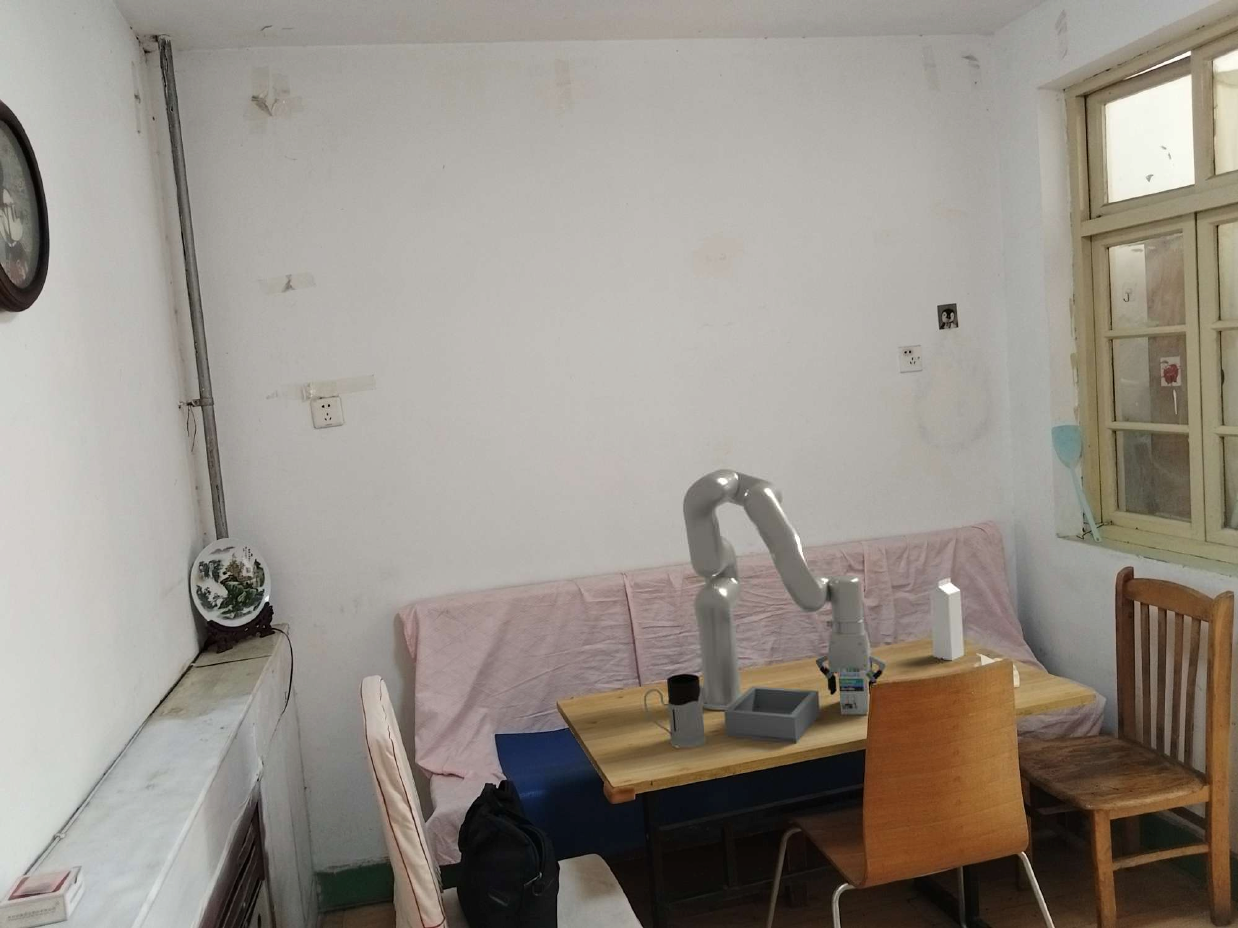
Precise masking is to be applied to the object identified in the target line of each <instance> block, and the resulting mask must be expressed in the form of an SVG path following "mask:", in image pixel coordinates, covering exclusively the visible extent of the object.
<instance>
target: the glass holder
mask: <svg viewBox="0 0 1238 928" xmlns="http://www.w3.org/2000/svg"><path fill="white" fill-rule="evenodd" d="M666 683H667V684H666V686H667V697H668V700H667V702H668V703H664V697H663V693H662V692H660V690H659V689H656V688H655V689H654V688H652V689H649V690H647V692H645V695H644V698H643V703H644V704H643V705H644V709H645V712H646V714H647V716H648V718H649V719H650V721H652V722H653V723H654V724H655V725H657V726H658V727H660V728H661V729H662V730H665V731H666V732H668V734H669V736H670V739H669V744H670V743H671V744H672V745H674V746H678V747H680V748H679V749H693V747H695V748H698V747H697V746H699V747H701V746H704V745H705V744H706V743H707V742H708V739H707V737H706V734H705V725H704V712H703V711H704V710H703V707H702V698H701V688H700V685H701V684H700V677H699V676H698V675H696V674H693V673H692V674H691V673H680V674H674V675H671V676H669V677H668V678H667V679H666ZM652 692H657V693H658V694H659V696H660V701H661V704H662V705H663V706H664V707H665V706H666V707H667V706H668V717H669V726H670V727H669V729H670V730H669V729H667V728H666V727H665V726H663V725H661V724H659V723H658V722H657V721H656V720H654V718H653V717H652V715H651V714H650V712H649V709H648V706H647V697H648V695H649V694H650V693H652ZM706 741H707V742H706ZM704 743H705V744H704ZM672 745H671V746H672ZM674 746H673V747H674Z"/></svg>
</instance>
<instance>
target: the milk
mask: <svg viewBox="0 0 1238 928" xmlns="http://www.w3.org/2000/svg"><path fill="white" fill-rule="evenodd" d="M961 595H962V594H961V589H959V588H958V587H957V586H955V585H954V584H953V583H952V582H951V577H948V578H945V579H941V580H939V581H938V582H937V587H935V588H934V589H932V590H931V591H929V601H930V602H929V603H930V616H931V617H930V619H931V630H932V631H931V635H932V637H931V638H932V649H933V650H932V651H933V653H932V654H933V658H935V657H937V658H936V659H941V658H943V659H942V660H948V661H951V660H952V661H955V660H957V659H960V658H962V657H964V656H965V652H964V651H965V650H964V649H965V648H964V637H963V636H964V633H963V616H962V615H963V613H962V599H961V597H962V596H961ZM963 655H964V656H963Z"/></svg>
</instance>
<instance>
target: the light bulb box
mask: <svg viewBox="0 0 1238 928" xmlns="http://www.w3.org/2000/svg"><path fill="white" fill-rule="evenodd" d="M837 676H838V677H837V678H838V688H839V702H840V715H841V716H842V715H843V716H844V715H868V714H867V712H868V711H869V697H868V696H869V691H868V682H867V676H866V672H865V670H857V669H844V668H839V669H838V673H837Z"/></svg>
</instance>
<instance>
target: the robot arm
mask: <svg viewBox="0 0 1238 928" xmlns="http://www.w3.org/2000/svg"><path fill="white" fill-rule="evenodd" d="M782 501H783V495H782V491H781V490H780V489H779V487H778V486H777V485H776V484H775V483H773V482H771V481H768V480H766V479H762V478H758V477H756V476H752V475H748V474H745V473H742V472H739V471H736V470H732V469H727V468H722V469H718V470H715V471H712V472H710V473H707V474H705V475H703V476H702V477H700V478H699V479H697V480H696V481H695V482H694V483H692V485H690V486H689V488H688V489H687V491H686V493H685V495H684V498H683V502H682V511H683V518H684V519H683V520H684V524H685V531H686V539H687V544H688V549H689V550H688V551H689V556H690V563H691V567H692V569H693V571H694V573H695V574H696V575H697V576H698V577H701V578H704V581H705V584H704V585H702V586H701V587H700V588H699V590H698V591H697V593H696V595H695V599H694V613H695V618H696V621H697V623H696V624H697V628H698V639H699V640H698V641H699V647H700V649H699V650H700V659H701V661H700V662H701V674H702V684H700V688H701V698H702V709H706V710H712V711H713V710H714V711H725V710H726V709H728V708H729V707H730V706H731V705H732V704H733V703H734V702H735V701H736V700H737V699H739V698H740V697H741V696H742V695H743V694H744V693H745V692H742V691H741V677H740V666H739V665H740V664H739V653H738V651H739V650H738V642H737V640H738V639H737V630H736V624H735V620H734V614H733V612H734V611H733V610H734V609H735V608H736V607H738V605H739V603H740V601H741V598H742V585H741V578H740V577H741V576H740V572H739V565H738V561H737V555H736V550H735V548H734V546H733V544H732V542H730V541H729V539H728V538H726V537H724V536H722V535H721V531H720V530H721V529H720V523H719V519H718V516H717V514H716V512H717V511H716V510H717V508H718V507H720V506H721V505H724V504H726V503H730V504H734V505H737V506H740V507H742V508H743V510H744V511H745V514H746V516H747V517H748V519H749V520H750V521H751V524H752V525H753V527H754V528H755V530H756V532H757V533H758V534H759V535H758V536H760V538H761V539H762V541H763V543H764V544H765V546H766V548H767V549H768V552H769V553H770V557H771V559H772V562H773V564H774V566H775V569H776V571H777V574H778V576H779V578H780V581H781V583H782V584H783V586H784V587H785V589H786V591H787V593H788V594H789V596H790V597H791V599H792V600H793V602H794V604H796V605H797V607H798V608H799V609H801V610H802V611H805V612H807V613H815V612H817V611H818V612H819V610H821V609H822V608H823V607H824V605H826V604H827V603H829V604H830V608H831V610H830V611H831V620H827V621H826V627H830V629H831V631H829V634H828V643H827V645H828V646H827V654H824V655H822V656H820V657H817V659H815V663H816V665H817V667H818V668H819V671H820V672H821V673H822V674H823V675H824V677H825V678H826V679H827V689H828V691H829V694H830V695H833V696H834V694H835V693H836V692H837V691H838V690H837V678H836V677H837V676H836V675H835V674H838V669H839V668H844V669H857V670H865V672H866V678H868V679H869V681H868V682H867V685H868V695H869V694H870V686H871V684H873V683H876V682H877V679H878V678H879V677H881V676H882V675H883V673H884V671H885V669H886V667H887V664H888V663H886V661H885V660H882V659H880V658H878V657H877V656H875V655H873V654H872V648H871V644H870V640H869V639H870V638H869V634H868V631H867V630H865V624H864V621H865V620H864V608H863V594H862V593H863V592H862V582H861V580H860V578H859V577H857V576H855V575H849V574H848V575H846V574H845V575H838V576H837V575H836V576H835V575H829V574H828V575H827V574H823V573H822V574H819V573H812V572H811V570H810V568H809V566H808V564H807V562H806V560H805V557H804V553H803V549H802V540H801V536H800V533H799V531H798V530H797V528H796V526H795V525H794V523H793V521H792V519H790V517H789V515H788V514H787V512H786V511H785V509H784V507H783V506H782ZM824 662H827V666H828V667H827V666H826V665H825V663H824ZM873 664H874V665H876V666H878V669H877V671H875V670H874V669H873V666H874V665H873Z"/></svg>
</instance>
